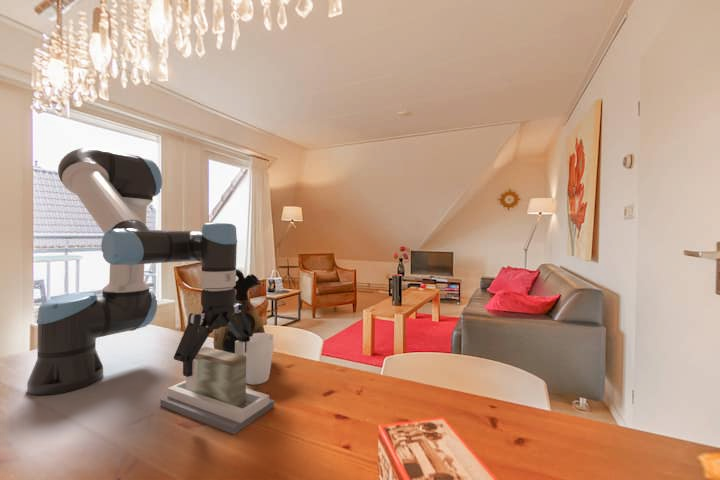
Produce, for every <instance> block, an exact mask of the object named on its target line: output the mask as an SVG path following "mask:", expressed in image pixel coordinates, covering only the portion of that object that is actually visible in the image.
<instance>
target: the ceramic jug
mask: <svg viewBox="0 0 720 480" xmlns="http://www.w3.org/2000/svg"><path fill="white" fill-rule="evenodd" d="M237 277H238V279H236V285H235V286H234V287H233V288H235V290H236V302H235V303H238V304H244V312H245V315H246V317H247V319H248V322H249V324H250V327H251V329H252V332H253V333H266V331H265V327H264V323H263V321H262V318H261V316H260V314H259V313H258V311H257V310H256V308H255V306H254V305H253V303H252V302H251V301H250V298H249V296H248V291H249V290H250V289H252V288H254V287H257V286H261V285H262V282H261V281H260V280H259V278H258V277H257V276H256V275H255V274H254V273H253V274H248V275H246V276H245V275H244V272H242V271H241V270H239V269H237V268H236V278H237ZM235 303H234V304H235ZM234 304H233V305H234ZM232 317H233V318H234V319H235V320H236V323H237V324H238V321H237V319H236V317H235V314H234V313H233V315H232ZM238 326H239V324H238ZM239 327H240V326H239ZM213 334H214V335H213V340H212V341H213V342H212V343H213V349H218V350H222V351H226V352H230V353H234V354H235V341H239V340H238V339H237V338H236V336H235V335H234V334H233V333H232V332H231V330H230V329H229V328H228V327H227V326H225V327H220V328H219V329H214V333H213Z"/></svg>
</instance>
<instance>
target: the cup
mask: <svg viewBox="0 0 720 480" xmlns="http://www.w3.org/2000/svg"><path fill="white" fill-rule="evenodd" d="M274 346H275V344H274V335H273V334H271V333H268V332H265V333H253V336H252V337H250V341H249V342H246V353H245V356H246V385H247V384H248V385H251V386H255V385H262V384H264V383H266V382H267V381H268V380H269V379H270V373H271V367H272V362H273V361H272V360H273V353H274Z"/></svg>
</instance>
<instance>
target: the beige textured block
mask: <svg viewBox="0 0 720 480" xmlns="http://www.w3.org/2000/svg"><path fill="white" fill-rule="evenodd" d="M195 360H197V390H196V391H192V392H195V393H198V394H201V395H204V396H207V397H210V398H213V399H215V400H218V401H221V402H224V403H227V404H230V405H233V406H236V407H240V406H242V405H244V404H245V403H246V388H247V383H246V356H243V355H238V354H234V353H230V352H226V351H222V350H218V349H214V347H208V346H202V347H201V349H200V350H199V352H198V354H197V355H196V357H195ZM190 391H191V390H190Z"/></svg>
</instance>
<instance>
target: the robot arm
mask: <svg viewBox="0 0 720 480" xmlns="http://www.w3.org/2000/svg"><path fill="white" fill-rule="evenodd" d="M57 172H58V173H57V175H58V178H59V180H60V182H61V183H62V185H63V186H64V188H65V189H66V190H68V191H69V192H70V193H73V194H74V195H76V196H77V197H78V199H79V200H80V202H81V203H82V205H83V206H84V207H85V209H86V210H87V212H89V214H90V216H91V217H92V219H93V220H94V221H95V223H96V224H97V225H98V226H99V228H100V230H101V231H102V232H103V235H102V239H101V248H100V249H101V252H102V257H103V259H104V260H105V262H107V263H108V264H109V279H108V280H109V282H108V284H106V286H104V287H103V288H102V295H101V296H97V294H96V293H94V292H81V293H72V294H67V295H63V296H62V295H61V296H58V297H53V298H51V299H48V300H46V301H44V302H43V303H40V304H41V305H39V307H38V313H37V318H36V323H37V346H36V347H37V351H36V352H37V355H36V356H37V359H36V361H35V363H34V366H33V369H32V371H31V374H30V375H29V378H28V380H27V384H26V385H27V386H26V387H27V388H26V389H27V390H26V391H28V392H27V393H28V394H30V395H35V396H51V395H56V394H62V393H63V394H64V393H67V392H71V391H75V390H78V389H82V388H84V387H87V386H89V385H91V384H93V383H96V382H98V381H100V379H101V378H103V375H104V366H103V363H102V361H101V358H100V356H99V354H98V351H97V349H96V340H97V338H103V337H106V336H110V335H115V334H116V335H117V334H120V333H125V332H130V331H131V332H132V331H136V330H139V329H141V328H144V327H147V326H149V325H150V324H151V322H153V321H154V319H155V317H156V313H157V311H158V310H157V309H158V299H157V295H156V294H155V292H154V291H152V290H150V286H149V285H148V284H147V283H145V265H147V264H148V265H149V264H159V263H160V264H161V263H166V264H167V263H181V262H183V263H184V262H201V272H200V273H201V275H200V276H201V277H200V287H201V288H202V290H201V292H200V305H201V307H202V311H201V313H193V312H191V313H189V315H188V320H187V325H186V328H185V330H184V332H183V334H182V337H181V339H180V341H179V343H178V346H177V348H176V350H175V353H174V355H173V360H175V361H178V362H181V363H182V375H183V377H185V380H186V389H188V390H191V391H196V390H197V360H195V357H196V355H197V354H198V352H199V350H200V349H201V348H202V347H203V345H204V344H205V342H206V340H207V339H208V337H209V336H210V334H212V333H213V332H214V331H215V330H216V329H219V328H220V327H225V326H227V327H228V328H229V329H230V330H231V332H232V333H233V334H234V335H235V336H236V338H237V339H238V340H239V341H235V354H238V355H243V356H245V353H246V342H249V341H250V337H252V336H253V332H252V329H251V327H250V324H249V322H248V319H247V317H246V315H245V312H244V304H238V303H235V302H236V291H237V290H235V288H233V287H234V286H235V285H236V281H237V276H236V269H237V251H238V250H237V249H238V248H237V247H238V239H237V238H238V237H237V227H236V225H235V224H233V223H223V222H222V223H220V222H219V223H218V222H205V223H203V225H202V228H201V231H199V230H198V231H194V230H165V229H164V230H163V229H161V230H160V229H149V228H148V226H147V225H146V224H147V208H148V206H149V205H150V204H151V203H152V202H153V200H154V199H153V198H154V197H156V196H158V195H159V194H160V193H161V189H162V186H163V178H162V177H163V176H162V173H161V170H160V168H159V166H158V165H157V163H155V162H154V161H153V160H152V159H149V158H145V157H142V156H139V155H134V154H129V153H124V152H119V151H113V150H108V149H103V148H99V147H90V146H89V147H81V148H77V149H74V150H72V151H70V152H68V153H66V154H65V155H64V156H63V158H62V159H60V162H59V164H58V168H57ZM234 303H235V304H234ZM233 304H234V305H233ZM233 313H234V314H235V317H236V319H237V321H238V324H239V326H240V327H239V326H238V324H237V323H236V320H235V319H234V318H233V317H232V315H233Z"/></svg>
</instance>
